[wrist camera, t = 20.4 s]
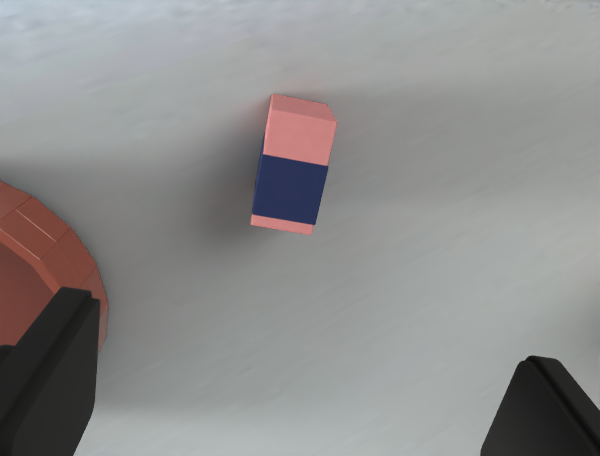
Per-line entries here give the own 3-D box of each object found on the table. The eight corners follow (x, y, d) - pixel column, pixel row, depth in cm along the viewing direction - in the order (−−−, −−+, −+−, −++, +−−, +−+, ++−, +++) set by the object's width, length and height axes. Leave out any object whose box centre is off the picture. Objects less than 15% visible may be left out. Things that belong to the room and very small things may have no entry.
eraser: (271, 93, 29) (270, 108, 24) (328, 104, 29) (339, 122, 24) (253, 193, 31) (249, 225, 26) (307, 202, 31) (312, 236, 27)
